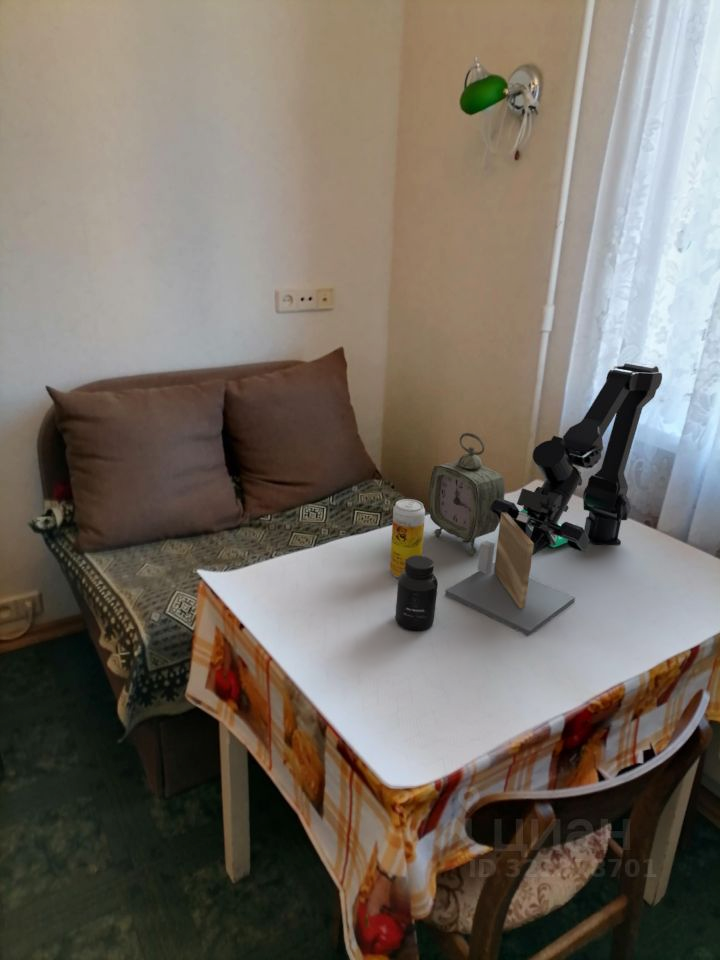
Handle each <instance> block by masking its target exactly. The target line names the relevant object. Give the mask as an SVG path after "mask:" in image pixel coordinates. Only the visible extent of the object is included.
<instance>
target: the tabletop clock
mask: <svg viewBox="0 0 720 960" xmlns="http://www.w3.org/2000/svg"><path fill="white" fill-rule="evenodd" d="M464 437H471V438H474V439H475V440H477V441H478V442H479V443H480V445H481V451H476V450H474V449H475V447H473V446H469V447H467V446H465V445H464V444H463V439H464ZM459 445H460V446H461V449H463V450H464V451H465V452H467V453H466V454H462V455H461V456H460V457H459V460H458V459H457V460H455V461H450V462H447V463H443V464H438V465H435V466H434V467H433V469H432V472H431V477H430V483H429V490H428V511H429V517H430V520H431V521H432V522H433V523H434V524H435V526H438V527H439V528H436V529H435V530H434V532H433V534H434V535H435V536H436V537H439V536H441V535H442V531H443V530H444V531H445V532H447V533H449V534H450V535H453V536H455V537H457V538H459V539H462V540H465V541H466V540H467V541H470V548H469V549H468V554H469V555H470V556H474V555H476V554H477V549H476V547H475V541H476V539H477V538H479V537H483V536H485V535H488V534H491V533H495V531H496V530H497V528H498V526H499V525H500V520H499V519H498V518H497V517H496V516H495V514H494V513H493V512H492V510H491V509H490V507H491V505H492V503H493V501H495V500H496V499H498V498H501V499H504V500H505V494H506V484H505V478H504V477H503V475H502V474H501V473H499V472H497V471H496V470H493V469H491V468H489V467H487V466H485V465H483V463H482V459H481V458H480V456H478V455H482V454H483V453H484V452H485V448H486V447H485V444H484V441H483V439H482V438H480V437H479V436H478V435H476V434H474V433H471V432H465V433H462V434H461V436H460V437H459Z"/></svg>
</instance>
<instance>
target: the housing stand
mask: <svg viewBox="0 0 720 960" xmlns="http://www.w3.org/2000/svg"><path fill="white" fill-rule="evenodd" d="M495 546H496V544H495V542H492V541H489V540H484V541H482V542H480V546H479V554H478V556H479V557H478V564H477V571H476V572H475V573H473V574H471V575H469V576H468V577H466V578H465V579H463V580H461V581H459V582H457V583H456V584H454V585H452V586H451V587H449V588H447V589H445V596H447V597H449V598H451V599H453V600H455V601H457V602H459V603H462V604H463V605H465V606H467V607H470V609H471V608H472V609H474V610H475V611H477V612H479V613H481V614H483V615H486V616H487V617H490V618H492V619H494V620H495V621H498V622H500V623H502V624H504V625H506V626H508V627H510V628H512V629H514V630H516V631H518V632H520V633H522V634H524V635H526V636H528V637H530V636H531V635H532V634H533V633H535V632H536V631H537V630H539V629H540V628H541V627H543V626H544V625H545V624H547V623H548V622H550V621H551V620H552V619H554V618H555V617H556V616H558V614H561V613H562V611H564V610H565V609H567V608H568V607H570V606H571V605H572V604H574V603H575V600H576V597H575V596H573V595H571V594H568V593H567V592H564V591H562V590H560V589H557V588H555V587H552V586H549V585H548V584H545V583H542V582H541V581H538V580H535V579H533V578H532V577H529V581H528V588H527V595H526V602H525V608H519V607H518V606H517V604H516V603H515V601H514V600H513V599H512V597H511V596H510V594H509V593H508V591H507V590H506V588H505V587H504V586H503V584H502V583H501V581H500V580H499V578H498V577H497V576H496V574H495V573H494V568H495V562H493V561H494V554H495Z"/></svg>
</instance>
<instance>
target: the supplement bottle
mask: <svg viewBox="0 0 720 960" xmlns="http://www.w3.org/2000/svg"><path fill="white" fill-rule="evenodd" d="M434 566H435V564H434V561H433V559H431V558H430V557H427V556H424V555H422V556H411V557H409V558H407V560H406V564H405V571H404V572H402V573H401V575H400V576H399V578H397V579H398V580H397V591H396V601H395V602H396V604H395V622H396V624H397V625H398V626H399V627H400V628H401V629H403V630H405V631H408V632H412V633H413V632H414V633H415V632H416V633H418V632H420V633H421V632H425V631H427V630H429V629H431V628H432V626H433V624H434V622H435V615H436V606H437V605H436V604H437V597H438V595H437V594H438V586H439V585H438V584H439V581H438V578H437V577H436V575H435V574H434V572H435V571H434Z"/></svg>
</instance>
